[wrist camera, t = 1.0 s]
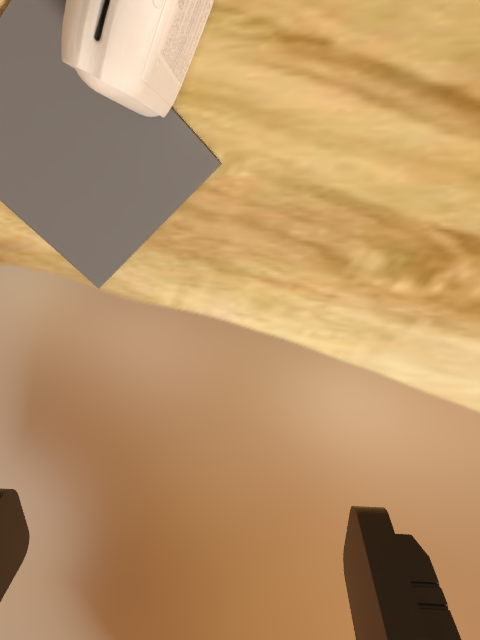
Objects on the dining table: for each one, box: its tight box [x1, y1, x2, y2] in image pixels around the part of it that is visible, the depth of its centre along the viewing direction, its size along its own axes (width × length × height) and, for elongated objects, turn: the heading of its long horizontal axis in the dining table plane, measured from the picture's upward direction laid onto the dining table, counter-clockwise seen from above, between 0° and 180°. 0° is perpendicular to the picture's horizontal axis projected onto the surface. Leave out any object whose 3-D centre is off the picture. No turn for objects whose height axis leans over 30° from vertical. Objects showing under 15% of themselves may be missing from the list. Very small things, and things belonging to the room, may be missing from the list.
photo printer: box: [61, 0, 214, 118], centre depth 21 cm, size 10×4×12 cm, turn 154°
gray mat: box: [0, 0, 222, 288], centre depth 30 cm, size 14×16×1 cm
